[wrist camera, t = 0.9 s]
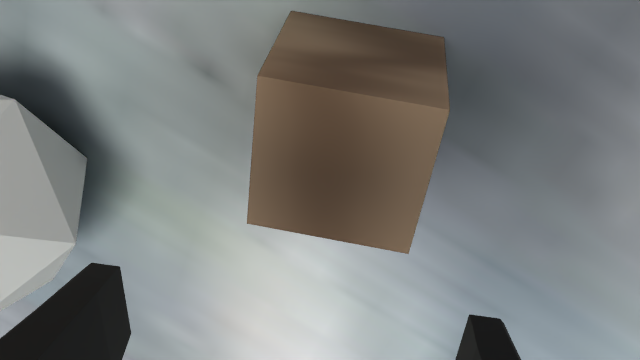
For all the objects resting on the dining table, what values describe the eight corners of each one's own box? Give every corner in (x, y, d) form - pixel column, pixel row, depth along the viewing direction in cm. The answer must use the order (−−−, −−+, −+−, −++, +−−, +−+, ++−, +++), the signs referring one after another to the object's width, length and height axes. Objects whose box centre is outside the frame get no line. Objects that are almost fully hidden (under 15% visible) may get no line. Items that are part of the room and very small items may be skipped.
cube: (444, 36, 19) (449, 109, 15) (410, 163, 22) (408, 254, 18) (291, 10, 20) (257, 75, 16) (278, 139, 22) (247, 223, 18)
